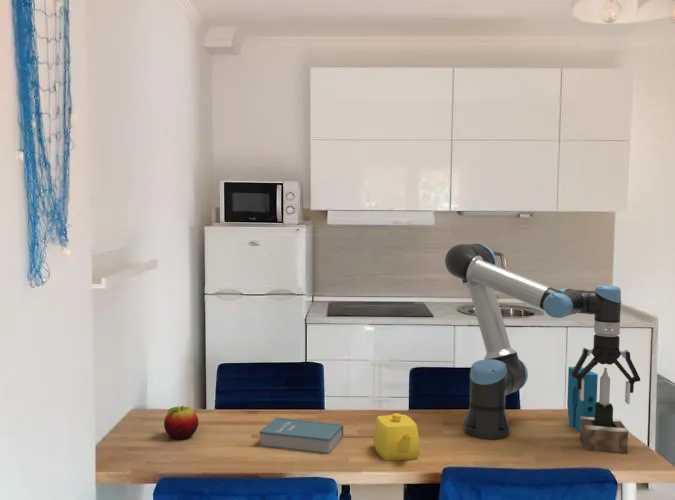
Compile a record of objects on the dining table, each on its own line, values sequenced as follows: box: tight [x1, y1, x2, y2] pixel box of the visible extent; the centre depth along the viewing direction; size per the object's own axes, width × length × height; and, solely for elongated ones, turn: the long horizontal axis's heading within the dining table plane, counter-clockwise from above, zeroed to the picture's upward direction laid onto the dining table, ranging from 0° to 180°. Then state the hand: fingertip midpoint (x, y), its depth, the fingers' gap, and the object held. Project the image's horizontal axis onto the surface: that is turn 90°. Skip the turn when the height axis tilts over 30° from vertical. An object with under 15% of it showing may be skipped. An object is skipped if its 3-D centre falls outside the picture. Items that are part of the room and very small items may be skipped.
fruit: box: [163, 405, 199, 440], centre depth 208 cm, size 11×11×10 cm
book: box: [258, 417, 344, 455], centre depth 206 cm, size 23×16×5 cm
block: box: [566, 366, 599, 433], centre depth 224 cm, size 12×5×20 cm, turn 8°
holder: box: [579, 416, 629, 454], centre depth 207 cm, size 12×12×7 cm
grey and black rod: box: [594, 367, 614, 427], centre depth 207 cm, size 5×5×25 cm
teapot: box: [373, 412, 421, 462], centre depth 196 cm, size 20×12×12 cm, turn 12°
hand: (604, 401), depth 206 cm, fingers open, 13 cm apart
